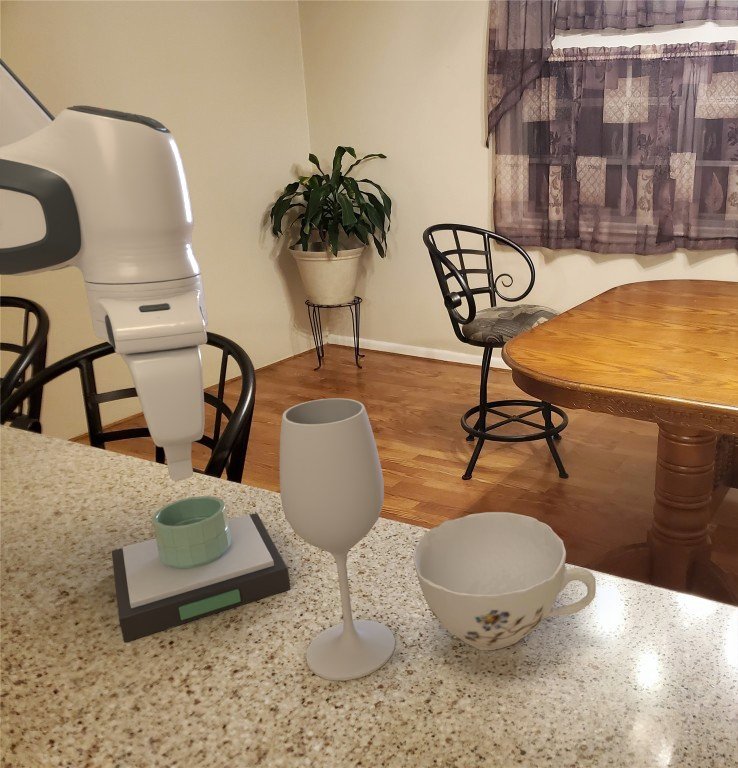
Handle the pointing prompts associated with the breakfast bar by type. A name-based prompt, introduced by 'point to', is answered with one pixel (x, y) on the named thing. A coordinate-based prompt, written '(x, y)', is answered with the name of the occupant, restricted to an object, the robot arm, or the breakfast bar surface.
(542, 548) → the teacup
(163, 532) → the bowl
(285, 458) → the wineglass
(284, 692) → the breakfast bar surface
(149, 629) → the scale
